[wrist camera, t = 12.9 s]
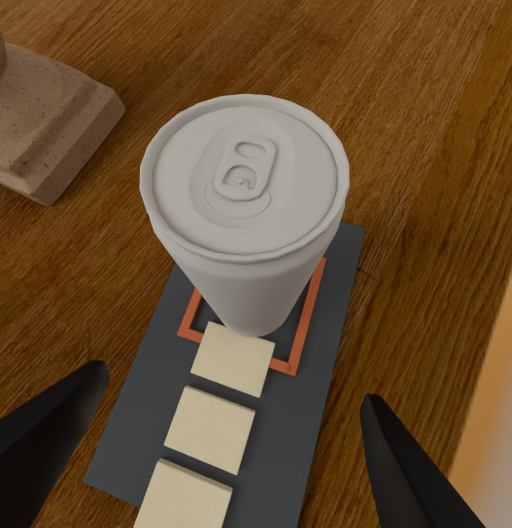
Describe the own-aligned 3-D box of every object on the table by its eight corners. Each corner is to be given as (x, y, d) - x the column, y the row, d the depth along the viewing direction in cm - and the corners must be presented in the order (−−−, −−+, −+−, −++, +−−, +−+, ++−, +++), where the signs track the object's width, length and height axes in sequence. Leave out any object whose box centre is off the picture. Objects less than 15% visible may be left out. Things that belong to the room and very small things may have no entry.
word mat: (282, 579, 13) (283, 599, 12) (83, 488, 15) (69, 500, 14) (363, 230, 19) (368, 224, 18) (209, 189, 20) (206, 181, 19)
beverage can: (206, 327, 16) (90, 236, 5) (228, 258, 18) (179, 76, 7) (281, 347, 16) (342, 296, 4) (296, 274, 17) (367, 107, 6)
